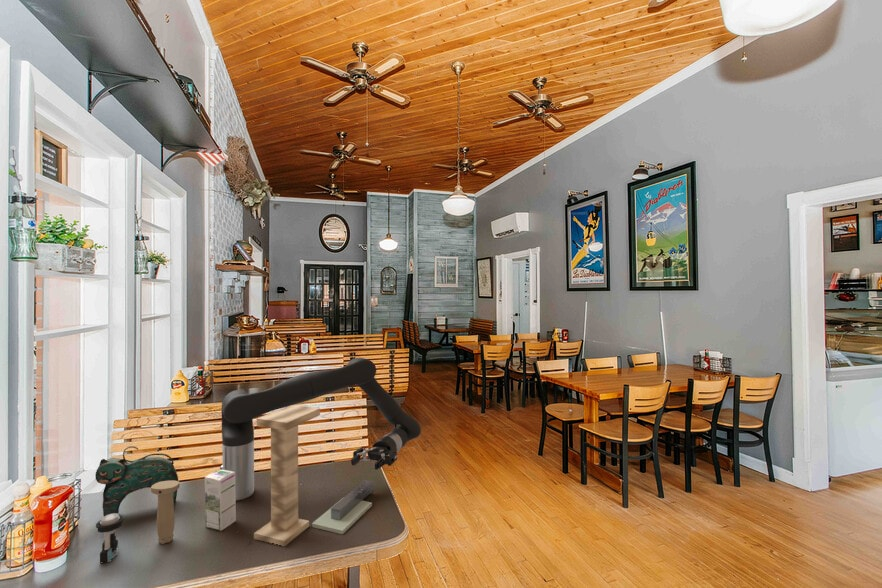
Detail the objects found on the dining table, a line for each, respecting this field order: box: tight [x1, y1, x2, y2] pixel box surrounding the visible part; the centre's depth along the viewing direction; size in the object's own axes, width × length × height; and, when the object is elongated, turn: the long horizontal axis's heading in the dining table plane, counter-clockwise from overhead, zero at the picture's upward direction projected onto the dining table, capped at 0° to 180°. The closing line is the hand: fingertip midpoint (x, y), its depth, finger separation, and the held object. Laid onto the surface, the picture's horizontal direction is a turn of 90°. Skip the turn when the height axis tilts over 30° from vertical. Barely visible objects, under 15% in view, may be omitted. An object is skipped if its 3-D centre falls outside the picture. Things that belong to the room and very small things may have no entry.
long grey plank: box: [330, 479, 374, 521], centre depth 129 cm, size 3×19×3 cm, turn 160°
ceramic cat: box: [94, 445, 179, 517], centre depth 126 cm, size 20×6×20 cm, turn 123°
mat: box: [311, 496, 373, 535], centre depth 123 cm, size 10×16×1 cm, turn 160°
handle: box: [150, 480, 181, 545], centre depth 111 cm, size 5×6×15 cm
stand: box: [253, 404, 321, 548], centre depth 117 cm, size 10×15×32 cm, turn 160°
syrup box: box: [204, 468, 237, 531], centre depth 119 cm, size 6×6×14 cm
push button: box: [95, 513, 124, 564], centre depth 105 cm, size 7×5×10 cm
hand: (364, 464), depth 134 cm, fingers open, 8 cm apart
